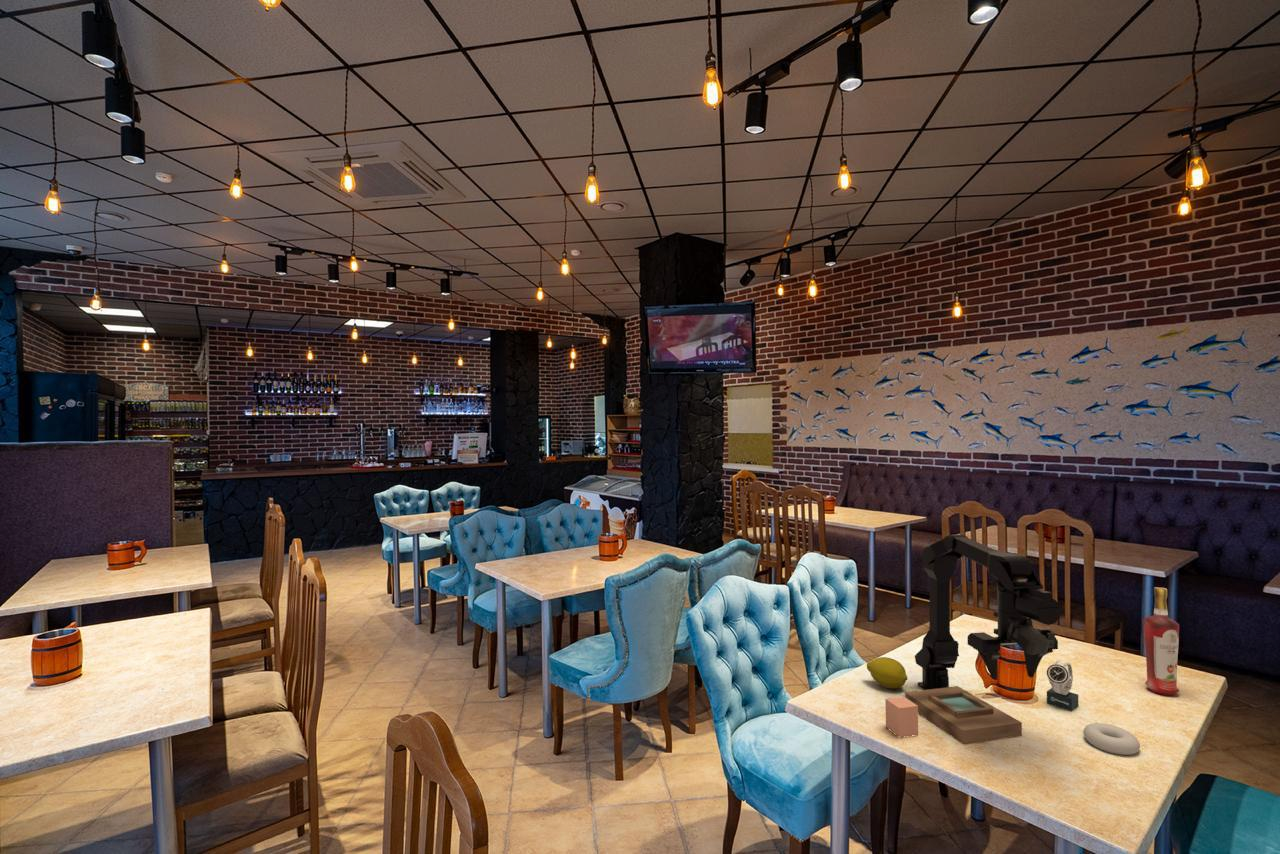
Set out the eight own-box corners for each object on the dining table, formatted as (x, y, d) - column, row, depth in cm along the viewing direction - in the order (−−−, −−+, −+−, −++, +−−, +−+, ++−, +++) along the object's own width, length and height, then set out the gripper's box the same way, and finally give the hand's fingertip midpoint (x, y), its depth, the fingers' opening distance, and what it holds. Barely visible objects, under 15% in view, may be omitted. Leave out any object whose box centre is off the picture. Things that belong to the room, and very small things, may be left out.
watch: (1043, 705, 151) (1043, 662, 151) (1056, 697, 156) (1055, 655, 156) (1069, 713, 146) (1068, 669, 146) (1081, 705, 151) (1081, 662, 151)
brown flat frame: (905, 703, 152) (905, 687, 152) (957, 697, 156) (957, 681, 156) (963, 743, 133) (963, 725, 133) (1021, 735, 136) (1021, 717, 136)
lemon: (913, 689, 161) (913, 660, 161) (899, 697, 156) (898, 667, 156) (877, 676, 169) (876, 649, 169) (862, 684, 164) (861, 655, 164)
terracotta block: (885, 727, 140) (885, 698, 140) (904, 725, 141) (903, 696, 141) (899, 738, 135) (899, 708, 135) (918, 735, 136) (917, 705, 136)
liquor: (1165, 686, 162) (1164, 585, 162) (1187, 698, 154) (1186, 592, 154) (1137, 685, 162) (1135, 584, 162) (1157, 697, 155) (1156, 591, 155)
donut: (1072, 738, 135) (1118, 761, 126) (1072, 723, 135) (1117, 745, 126) (1104, 732, 138) (1151, 754, 128) (1104, 717, 138) (1151, 738, 128)
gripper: (1001, 624, 125) (1001, 696, 125) (1079, 619, 127) (1079, 691, 127) (965, 608, 136) (966, 675, 136) (1037, 604, 138) (1038, 670, 138)
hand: (1012, 678), depth 134 cm, fingers open, 9 cm apart
